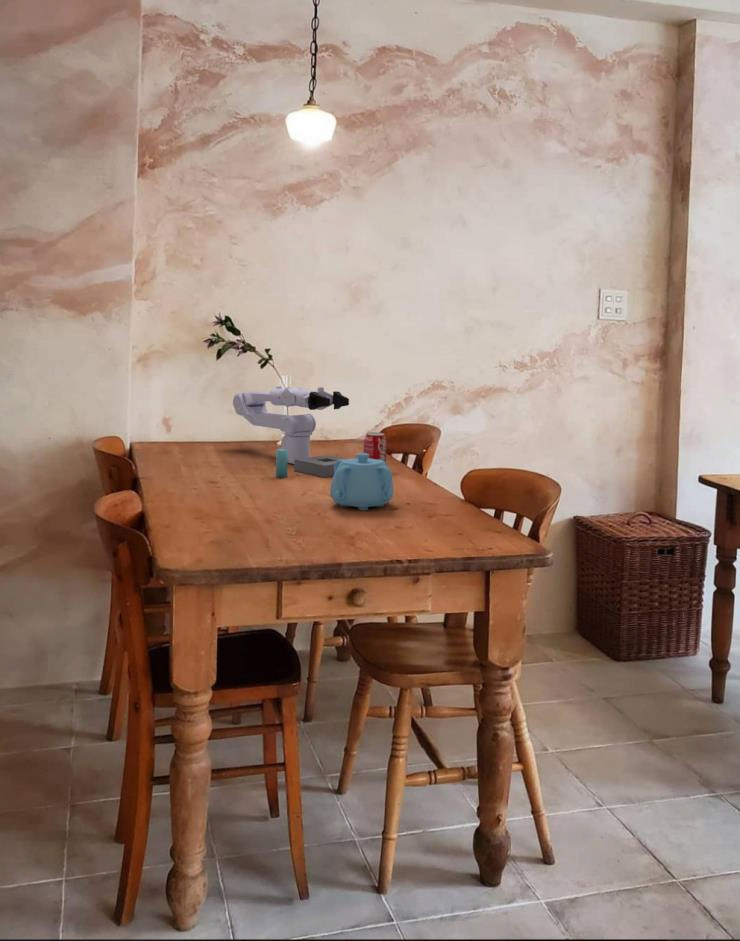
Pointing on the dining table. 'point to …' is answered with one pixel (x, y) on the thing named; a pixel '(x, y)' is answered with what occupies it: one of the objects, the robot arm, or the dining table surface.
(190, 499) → the dining table surface
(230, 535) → the dining table surface
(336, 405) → the robot arm
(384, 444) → the soda can
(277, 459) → the peg
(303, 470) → the socket
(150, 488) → the dining table surface
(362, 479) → the decorative pot
